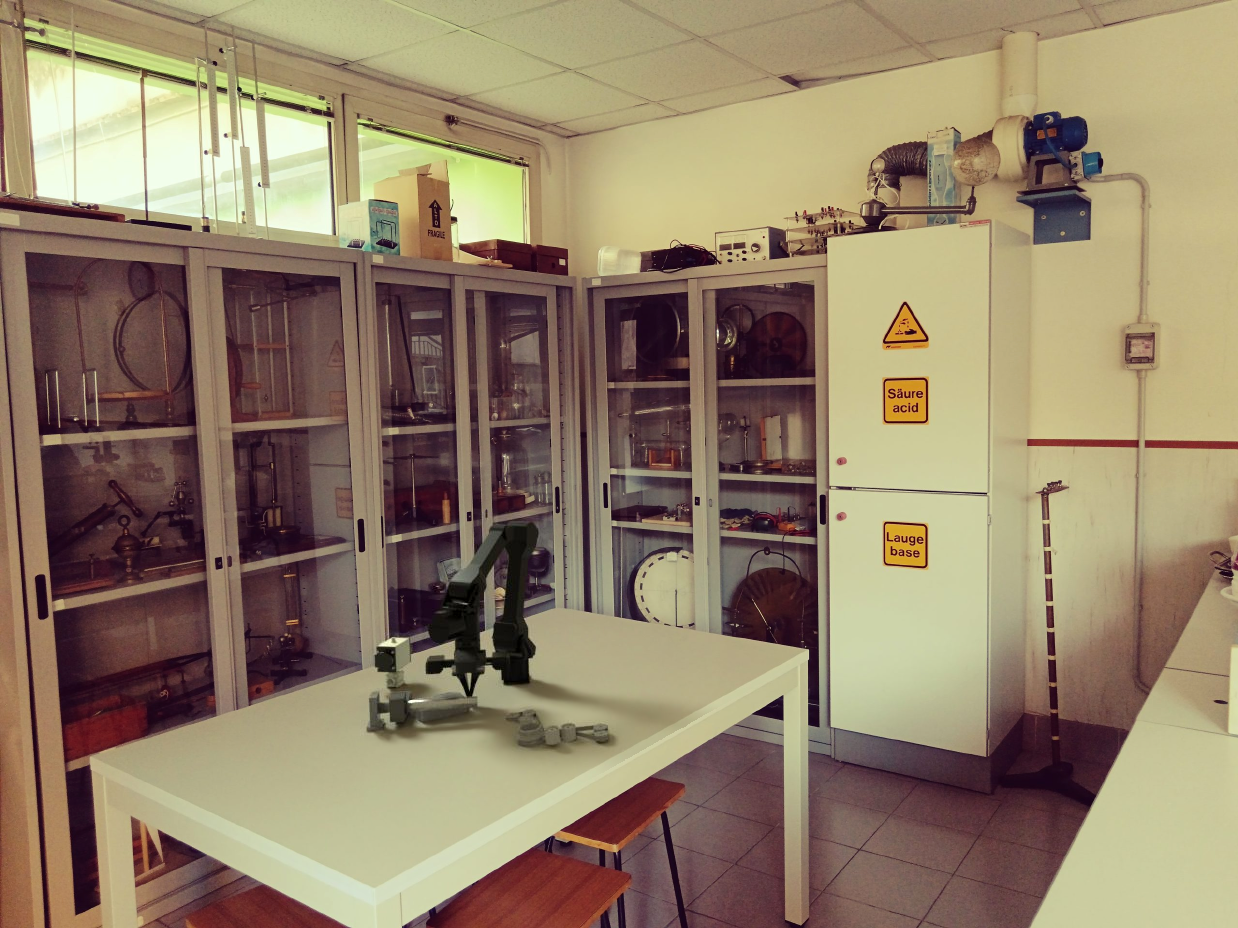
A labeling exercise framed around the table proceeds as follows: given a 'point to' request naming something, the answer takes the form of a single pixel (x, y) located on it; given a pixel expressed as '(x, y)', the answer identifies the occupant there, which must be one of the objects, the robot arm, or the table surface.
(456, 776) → the table surface
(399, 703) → the collar
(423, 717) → the stone block
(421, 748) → the table surface
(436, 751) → the table surface
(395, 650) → the pneumatic valve
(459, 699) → the linear shaft assembly
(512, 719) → the pulley system
